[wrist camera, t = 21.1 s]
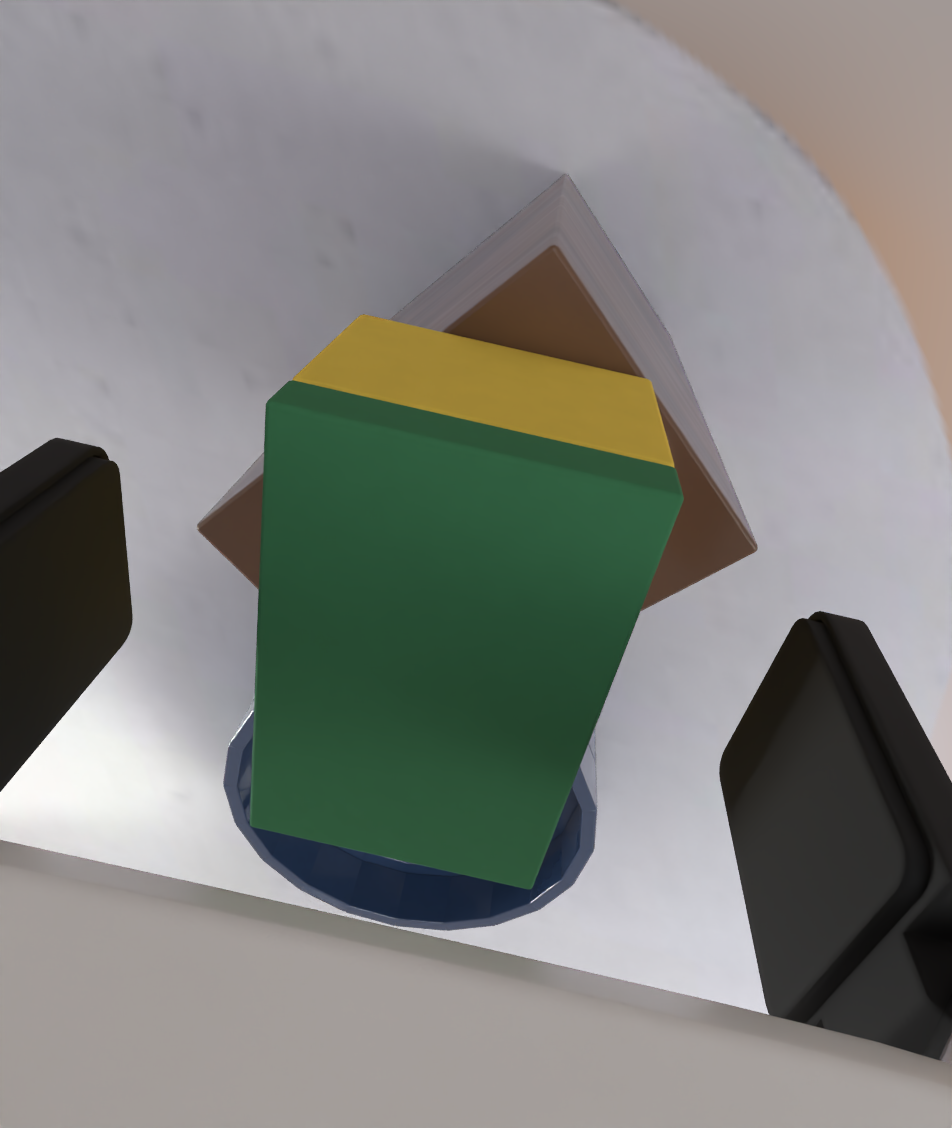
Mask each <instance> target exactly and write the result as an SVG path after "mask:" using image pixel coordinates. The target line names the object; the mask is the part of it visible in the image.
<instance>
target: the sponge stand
mask: <svg viewBox="0 0 952 1128" xmlns="http://www.w3.org/2000/svg"><path fill="white" fill-rule="evenodd" d="M390 320H391V321H396V322H400V323H404V324H409V325H413V326H417V327H422V328H426V329H431V330H435V331H439V332H444V333H448V334H452V335H457V336H461V337H466V338H470V339H474V340H479V341H483V342H487V343H492V344H496V345H501V346H505V347H509V348H514V349H518V350H523V351H527V352H531V353H536V354H540V355H544V356H549V357H553V358H558V359H562V360H566V361H571V362H575V363H579V364H584V365H588V366H593V367H597V368H601V369H606V370H610V371H615V372H619V373H623V374H628V375H632V376H636V377H641V378H645V379H648V380H650V381H651V382H652V386H653V389H654V393H655V397H656V400H657V404H658V407H659V411H660V415H661V418H662V422H663V426H664V429H665V433H666V436H667V440H668V444H669V447H670V451H671V455H672V458H673V462H674V468H675V469H676V471H677V474H678V478H679V481H680V485H681V489H682V492H683V498H684V500H683V503H682V505H681V508H680V510H679V513H678V516H677V518H676V521H675V523H674V526H673V528H672V531H671V534H670V536H669V539H668V541H667V544H666V546H665V549H664V551H663V554H662V557H661V559H660V562H659V564H658V567H657V569H656V572H655V575H654V577H653V580H652V582H651V585H650V587H649V590H648V592H647V595H646V598H645V600H644V603H643V605H642V608H641V610H640V611H642V610H644V609H646V608H648V607H650V606H652V605H654V604H655V603H657V602H659V601H661V600H663V599H665V598H667V597H669V596H671V595H673V594H675V593H677V592H679V591H681V590H683V589H684V588H686V587H688V586H690V585H692V584H694V583H696V582H698V581H700V580H702V579H704V578H706V577H708V576H710V575H712V574H713V573H715V572H717V571H719V570H721V569H723V568H725V567H727V566H729V565H731V564H733V563H735V562H737V561H739V560H741V559H742V558H744V557H746V556H748V555H750V554H752V553H754V552H755V551H757V549H758V548H757V543H756V541H755V539H754V536H753V534H752V531H751V529H750V527H749V524H748V522H747V519H746V517H745V515H744V512H743V510H742V507H741V505H740V503H739V500H738V498H737V495H736V493H735V491H734V488H733V486H732V483H731V481H730V479H729V476H728V474H727V471H726V469H725V467H724V464H723V462H722V459H721V457H720V455H719V452H718V450H717V447H716V445H715V443H714V440H713V438H712V435H711V433H710V431H709V428H708V426H707V423H706V421H705V419H704V416H703V414H702V411H701V409H700V407H699V404H698V402H697V399H696V397H695V394H694V392H693V390H692V387H691V385H690V382H689V380H688V378H687V375H686V373H685V370H684V368H683V366H682V363H681V361H680V358H679V356H678V354H677V351H676V349H675V346H674V344H673V342H672V339H671V337H670V334H669V333H668V331H667V330H666V328H665V327H664V325H663V323H662V322H661V320H660V319H659V317H658V316H657V314H656V312H655V311H654V309H653V308H652V306H651V304H650V303H649V301H648V300H647V298H646V297H645V295H644V293H643V292H642V290H641V289H640V287H639V286H638V284H637V282H636V281H635V279H634V278H633V276H632V275H631V273H630V271H629V270H628V268H627V267H626V265H625V264H624V262H623V260H622V259H621V257H620V256H619V254H618V252H617V251H616V249H615V248H614V246H613V245H612V243H611V241H610V240H609V238H608V237H607V235H606V234H605V232H604V230H603V229H602V227H601V226H600V224H599V223H598V221H597V219H596V218H595V216H594V215H593V213H592V212H591V210H590V208H589V207H588V205H587V204H586V202H585V200H584V199H583V197H582V196H581V194H580V193H579V191H578V189H577V188H576V186H575V185H574V183H573V182H572V180H571V178H570V177H569V175H567V174H564V175H563V176H562V177H561V178H560V179H558V180H557V181H556V182H555V183H554V184H552V185H551V186H550V187H549V188H548V189H546V190H545V191H544V192H543V193H542V194H540V195H539V196H538V197H537V198H535V199H534V200H533V201H532V202H531V203H529V204H528V205H527V206H526V207H525V208H523V209H522V210H521V211H520V212H519V213H517V214H516V215H515V216H514V217H513V218H511V219H510V220H509V221H508V222H507V223H505V224H504V225H503V226H502V227H501V228H499V229H498V230H497V231H496V232H495V233H493V234H492V235H491V236H490V237H489V238H487V239H486V240H485V241H484V242H482V243H481V244H480V245H479V246H478V247H476V248H475V249H474V250H473V251H472V252H470V253H469V254H468V255H467V256H466V257H464V258H463V259H462V260H461V261H460V262H458V263H457V264H456V265H455V266H454V267H452V268H451V269H450V270H449V271H448V272H446V273H445V274H444V275H443V276H442V277H440V278H439V279H438V280H437V281H435V282H434V283H433V284H432V285H431V286H429V287H428V288H427V289H426V290H425V291H423V292H422V293H421V294H420V295H419V296H417V297H416V298H415V299H414V300H413V301H411V302H410V303H409V304H408V305H407V306H405V307H404V308H403V309H402V310H401V311H399V312H398V313H397V314H396V315H395V316H393V317H392V318H391V319H390ZM263 467H264V453H263V454H262V455H261V456H260V457H259V458H258V459H257V460H256V461H255V462H254V464H253V465H252V466H251V467H250V468H249V469H248V470H247V471H246V472H245V473H244V474H243V476H242V477H241V478H240V479H239V480H238V481H237V482H236V483H235V484H234V485H233V486H232V487H231V489H230V490H229V491H228V492H227V493H226V494H225V495H224V496H223V497H222V498H221V499H220V500H219V502H218V503H217V504H216V505H215V506H214V507H213V508H212V509H211V510H210V511H209V512H208V514H207V515H206V516H205V517H204V518H203V519H202V520H201V521H200V522H199V523H198V525H197V530H198V531H199V532H200V533H201V534H202V535H203V536H204V537H205V538H206V539H207V540H208V541H209V542H210V543H211V544H212V545H213V546H214V547H215V548H216V549H217V550H218V551H219V552H220V553H221V554H222V555H223V556H225V557H226V558H227V559H228V560H229V561H230V562H231V563H232V564H233V565H234V566H235V567H236V568H237V569H238V570H239V571H240V572H241V573H242V574H243V575H244V576H245V577H246V578H247V579H248V580H249V581H250V582H251V583H252V584H253V585H254V586H255V587H256V588H257V589H258V590H259V570H260V544H261V518H262V493H263Z"/></svg>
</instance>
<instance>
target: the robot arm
mask: <svg viewBox="0 0 952 1128" xmlns="http://www.w3.org/2000/svg"><path fill="white" fill-rule="evenodd" d="M131 626H132V605H131V594H130V582H129V571H128V560H127V549H126V537H125V526H124V515H123V504H122V492H121V481H120V472H119V468H118V466H117V464H116V463H115V462H113V461H110V460H109V459H108V456H107V454H106V452H105V451H104V450H103V449H102V448H101V447H96V446H92V445H87V444H83V443H79V442H74V441H70V440H65V439H60V438H55V439H52V440H50V441H48V442H46V443H45V444H43V445H42V446H40V447H39V448H37V449H36V450H34V451H33V452H31V453H30V454H28V455H26V456H25V457H23V458H22V459H20V460H19V461H17V462H16V463H14V464H13V465H11V466H10V467H8V468H7V469H5V470H3V471H2V472H0V792H1V791H2V789H3V788H4V787H5V786H6V784H7V783H8V782H9V781H10V780H11V778H12V777H13V776H14V775H15V774H16V772H17V771H18V770H19V769H20V768H21V766H22V765H23V764H24V763H25V762H26V760H27V759H28V758H29V757H30V756H31V754H32V753H33V752H34V751H35V750H36V748H37V747H38V746H39V745H40V744H41V742H42V741H43V740H44V739H45V738H46V736H47V735H48V734H49V733H50V732H51V730H52V729H53V728H54V727H55V726H56V724H57V723H58V722H59V721H60V720H61V718H62V717H63V716H64V715H65V714H66V712H67V711H68V710H69V709H70V708H71V706H72V705H73V704H74V703H75V702H76V700H77V699H78V698H79V697H80V696H81V694H82V693H83V692H84V691H85V690H86V688H87V687H88V686H89V685H90V684H91V682H92V681H93V680H94V679H95V678H96V676H97V675H98V674H99V673H100V672H101V670H102V669H103V668H104V667H105V666H106V664H107V663H108V662H109V661H110V660H111V658H112V657H113V656H114V655H115V654H116V652H117V651H118V650H119V649H120V648H121V646H122V645H123V644H124V642H125V641H126V640H127V637H128V635H129V633H130V630H131ZM719 774H720V782H721V786H722V791H723V796H724V801H725V806H726V811H727V816H728V821H729V826H730V831H731V836H732V840H733V845H734V850H735V855H736V860H737V865H738V870H739V875H740V880H741V885H742V890H743V895H744V899H745V904H746V909H747V914H748V919H749V924H750V929H751V934H752V939H753V944H754V949H755V954H756V958H757V963H758V968H759V973H760V978H761V983H762V988H763V993H764V998H765V1003H766V1006H767V1010H768V1013H769V1015H767V1014H763V1013H759V1012H755V1011H751V1010H747V1009H743V1008H739V1007H735V1006H731V1005H727V1004H723V1003H719V1002H714V1001H710V1000H706V999H701V998H697V997H693V996H688V995H684V994H680V993H675V992H671V991H667V990H663V989H658V988H654V987H650V986H645V985H641V984H637V983H632V982H628V981H624V980H619V979H615V978H611V977H606V976H602V975H598V974H593V973H589V972H585V971H580V970H576V969H572V968H568V967H563V966H559V965H555V964H550V963H546V962H542V961H537V960H533V959H529V958H524V957H520V956H516V955H511V954H507V953H503V952H498V951H494V950H490V949H485V948H481V947H477V946H472V945H468V944H463V943H459V942H455V941H450V940H446V939H441V938H437V937H433V936H428V935H424V934H419V933H415V932H411V931H406V930H402V929H397V928H393V927H389V926H384V925H380V924H375V923H371V922H366V921H362V920H358V919H353V918H349V917H344V916H340V915H336V914H331V913H327V912H322V911H318V910H313V909H309V908H304V907H300V906H296V905H291V904H287V903H282V902H278V901H273V900H269V899H264V898H260V897H256V896H251V895H247V894H242V893H238V892H233V891H229V890H224V889H220V888H216V887H211V886H207V885H202V884H198V883H193V882H189V881H184V880H180V879H175V878H171V877H166V876H161V875H157V874H152V873H148V872H143V871H139V870H134V869H130V868H125V867H121V866H116V865H112V864H107V863H103V862H98V861H93V860H89V859H84V858H80V857H75V856H71V855H66V854H62V853H57V852H53V851H48V850H44V849H39V848H34V847H30V846H25V845H21V844H16V843H12V842H7V841H3V840H0V1128H952V782H951V780H950V779H949V777H948V775H947V773H946V771H945V769H944V767H943V765H942V764H941V762H940V760H939V758H938V756H937V754H936V753H935V751H934V749H933V747H932V745H931V743H930V741H929V739H928V738H927V736H926V734H925V732H924V730H923V728H922V727H921V725H920V723H919V721H918V719H917V717H916V715H915V714H914V712H913V710H912V708H911V706H910V704H909V702H908V701H907V699H906V697H905V695H904V693H903V691H902V689H901V688H900V686H899V684H898V682H897V680H896V678H895V676H894V675H893V673H892V671H891V669H890V667H889V665H888V663H887V662H886V660H885V658H884V656H883V654H882V652H881V651H880V649H879V647H878V645H877V643H876V641H875V639H874V638H873V636H872V634H871V632H870V630H869V628H868V626H867V625H866V624H865V623H864V622H863V621H860V620H857V619H852V618H848V617H843V616H839V615H835V614H830V613H826V612H821V611H819V612H815V613H814V614H813V615H811V616H810V617H809V619H804V618H801V619H799V620H797V621H796V622H795V623H794V625H793V626H792V628H791V630H790V632H789V634H788V635H787V637H786V639H785V641H784V643H783V644H782V646H781V648H780V650H779V652H778V654H777V655H776V657H775V659H774V661H773V663H772V664H771V666H770V668H769V670H768V672H767V674H766V675H765V677H764V679H763V681H762V683H761V684H760V686H759V688H758V690H757V692H756V694H755V695H754V697H753V699H752V701H751V703H750V704H749V706H748V708H747V710H746V712H745V714H744V715H743V717H742V719H741V721H740V723H739V724H738V726H737V728H736V730H735V732H734V734H733V735H732V737H731V739H730V741H729V743H728V744H727V746H726V748H725V750H724V752H723V754H722V758H721V762H720V772H719Z"/></svg>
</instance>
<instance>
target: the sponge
mask: <svg viewBox="0 0 952 1128" xmlns="http://www.w3.org/2000/svg"><path fill="white" fill-rule="evenodd" d="M683 500H684V498H683V492H682V489H681V485H680V481H679V478H678V474H677V471H676V469H675V468H674V462H673V458H672V455H671V451H670V447H669V444H668V440H667V436H666V433H665V429H664V426H663V422H662V418H661V415H660V411H659V407H658V404H657V400H656V397H655V393H654V389H653V386H652V382H651V381H650V380H648V379H645V378H641V377H636V376H632V375H628V374H623V373H619V372H615V371H610V370H606V369H601V368H597V367H593V366H588V365H584V364H579V363H575V362H571V361H566V360H562V359H558V358H553V357H549V356H544V355H540V354H536V353H531V352H527V351H523V350H518V349H514V348H509V347H505V346H501V345H496V344H492V343H487V342H483V341H479V340H474V339H470V338H466V337H461V336H457V335H452V334H448V333H444V332H439V331H435V330H431V329H426V328H422V327H417V326H413V325H409V324H404V323H400V322H396V321H391V320H387V319H382V318H378V317H374V316H369V315H365V314H363V315H360V316H359V317H358V318H357V319H355V320H354V321H353V322H352V323H351V324H350V325H349V326H348V327H347V328H346V329H345V330H344V331H343V332H342V333H341V334H339V335H338V336H337V337H336V338H335V339H334V340H333V341H332V342H331V343H330V344H329V345H328V346H327V347H326V348H325V349H323V350H322V351H321V352H320V353H319V354H318V355H317V356H316V357H315V358H314V359H313V360H312V361H311V362H310V363H308V364H307V365H306V366H305V367H304V368H303V369H302V370H301V371H300V372H299V373H298V374H297V375H296V376H295V377H294V378H293V380H292V381H288V382H287V383H286V384H285V385H284V386H283V387H282V388H281V389H280V390H279V391H278V392H277V393H276V394H275V395H273V396H272V397H271V398H270V399H269V400H268V402H267V403H266V415H265V441H264V467H263V493H262V518H261V544H260V570H259V596H258V622H257V647H256V673H255V699H254V725H253V750H252V776H251V802H250V826H252V827H255V828H259V829H264V830H268V831H273V832H277V833H281V834H286V835H290V836H295V837H299V838H304V839H308V840H312V841H317V842H321V843H326V844H330V845H334V846H339V847H343V848H348V849H352V850H356V851H361V852H365V853H370V854H374V855H379V856H383V857H387V858H392V859H396V860H401V861H405V862H409V863H414V864H418V865H423V866H427V867H432V868H436V869H440V870H445V871H449V872H454V873H458V874H462V875H467V876H471V877H476V878H480V879H485V880H489V881H493V882H498V883H502V884H507V885H511V886H515V887H520V888H524V889H531V888H532V887H533V885H534V882H535V880H536V877H537V875H538V872H539V869H540V867H541V864H542V862H543V859H544V857H545V854H546V851H547V849H548V846H549V844H550V841H551V839H552V836H553V834H554V831H555V828H556V826H557V823H558V821H559V818H560V816H561V813H562V810H563V808H564V805H565V803H566V800H567V798H568V795H569V793H570V790H571V787H572V785H573V782H574V780H575V777H576V775H577V772H578V769H579V767H580V764H581V762H582V759H583V757H584V754H585V751H586V749H587V746H588V744H589V741H590V739H591V736H592V734H593V731H594V728H595V726H596V723H597V721H598V718H599V716H600V713H601V710H602V708H603V705H604V703H605V700H606V698H607V695H608V692H609V690H610V687H611V685H612V682H613V680H614V677H615V675H616V672H617V669H618V667H619V664H620V662H621V659H622V657H623V654H624V651H625V649H626V646H627V644H628V641H629V639H630V636H631V634H632V631H633V628H634V626H635V623H636V621H637V618H638V616H639V613H640V610H641V608H642V605H643V603H644V600H645V598H646V595H647V592H648V590H649V587H650V585H651V582H652V580H653V577H654V575H655V572H656V569H657V567H658V564H659V562H660V559H661V557H662V554H663V551H664V549H665V546H666V544H667V541H668V539H669V536H670V534H671V531H672V528H673V526H674V523H675V521H676V518H677V516H678V513H679V510H680V508H681V505H682V503H683Z"/></svg>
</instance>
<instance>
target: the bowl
mask: <svg viewBox="0 0 952 1128" xmlns="http://www.w3.org/2000/svg"><path fill="white" fill-rule="evenodd" d="M254 699H255V698H254ZM254 699H253V702H252V703H251V705H250V707H249V708H248V710H247V712H246V714H245V716H244V717H243V719H242V721H241V723H240V725H239V727H238V728H237V730H236V732H235V734H234V736H233V737H232V739H231V741H230V743H229V745H228V753H227V760H226V767H225V774H224V781H223V784H224V789H225V792H226V795H227V799H228V802H229V805H230V808H231V812H232V815H233V818H234V821H235V823H236V825H237V827H238V828H239V830H240V831H241V832H242V834H243V835H244V836H245V838H246V839H247V840H248V842H249V843H250V844H251V846H252V847H253V848H254V850H255V851H256V852H257V854H258V855H259V856H260V858H261V859H262V860H263V861H264V862H266V863H267V864H268V865H269V866H271V867H272V868H273V869H274V870H276V871H277V872H278V873H279V874H281V875H282V876H283V877H284V878H286V879H287V880H288V881H290V882H291V883H292V884H293V885H295V886H296V887H297V888H298V889H300V890H302V891H304V892H306V893H308V894H310V895H312V896H314V897H316V898H318V899H320V900H322V901H324V902H326V903H328V904H330V905H332V906H334V907H336V908H338V909H340V910H342V911H346V912H347V913H350V914H354V915H357V916H361V917H365V918H368V919H372V920H375V921H379V922H382V923H386V924H390V925H393V926H395V925H396V926H401V927H412V928H423V929H434V930H447V931H449V930H458V929H467V928H477V927H486V926H495V925H498V924H501V923H504V922H507V921H509V920H512V919H515V918H518V917H521V916H524V915H526V914H529V913H532V912H535V911H538V910H540V909H541V908H543V907H544V906H545V905H547V904H548V903H550V902H551V901H552V900H554V899H555V898H556V897H558V896H559V895H560V894H562V893H563V892H564V891H566V890H567V889H568V888H570V887H571V886H572V885H573V884H574V883H575V881H576V880H577V878H578V876H579V875H580V873H581V871H582V870H583V868H584V866H585V865H586V863H587V861H588V860H589V858H590V856H591V855H592V853H593V851H594V847H595V833H596V820H597V786H596V752H595V728H594V731H593V734H592V736H591V739H590V741H589V744H588V746H587V749H586V751H585V754H584V757H583V759H582V762H581V764H580V767H579V769H578V772H577V775H576V777H575V780H574V782H573V785H572V787H571V790H570V793H569V795H568V798H567V800H566V803H565V805H564V808H563V810H562V813H561V816H560V818H559V821H558V823H557V826H556V828H555V831H554V834H553V836H552V839H551V841H550V844H549V846H548V849H547V851H546V854H545V857H544V859H543V862H542V864H541V867H540V869H539V872H538V875H537V877H536V880H535V882H534V885H533V887H532V888H531V889H524V888H520V887H515V886H511V885H507V884H502V883H498V882H493V881H489V880H485V879H480V878H476V877H471V876H467V875H462V874H458V873H454V872H449V871H445V870H440V869H436V868H432V867H427V866H423V865H418V864H414V863H409V862H405V861H401V860H396V859H392V858H387V857H383V856H379V855H374V854H370V853H365V852H361V851H356V850H352V849H348V848H343V847H339V846H334V845H330V844H326V843H321V842H317V841H312V840H308V839H304V838H299V837H295V836H290V835H286V834H281V833H277V832H273V831H268V830H264V829H259V828H255V827H252V826H250V802H251V776H252V750H253V725H254Z"/></svg>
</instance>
